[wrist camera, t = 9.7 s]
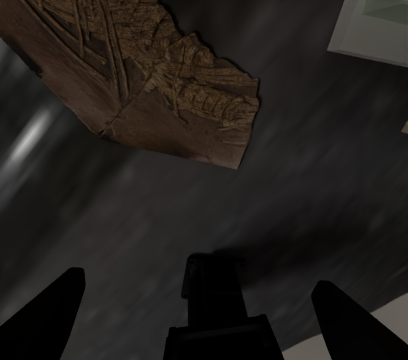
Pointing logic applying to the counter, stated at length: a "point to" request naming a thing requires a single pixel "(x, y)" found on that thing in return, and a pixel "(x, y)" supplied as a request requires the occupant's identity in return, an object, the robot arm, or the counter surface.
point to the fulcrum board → (373, 31)
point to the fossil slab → (135, 76)
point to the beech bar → (405, 128)
